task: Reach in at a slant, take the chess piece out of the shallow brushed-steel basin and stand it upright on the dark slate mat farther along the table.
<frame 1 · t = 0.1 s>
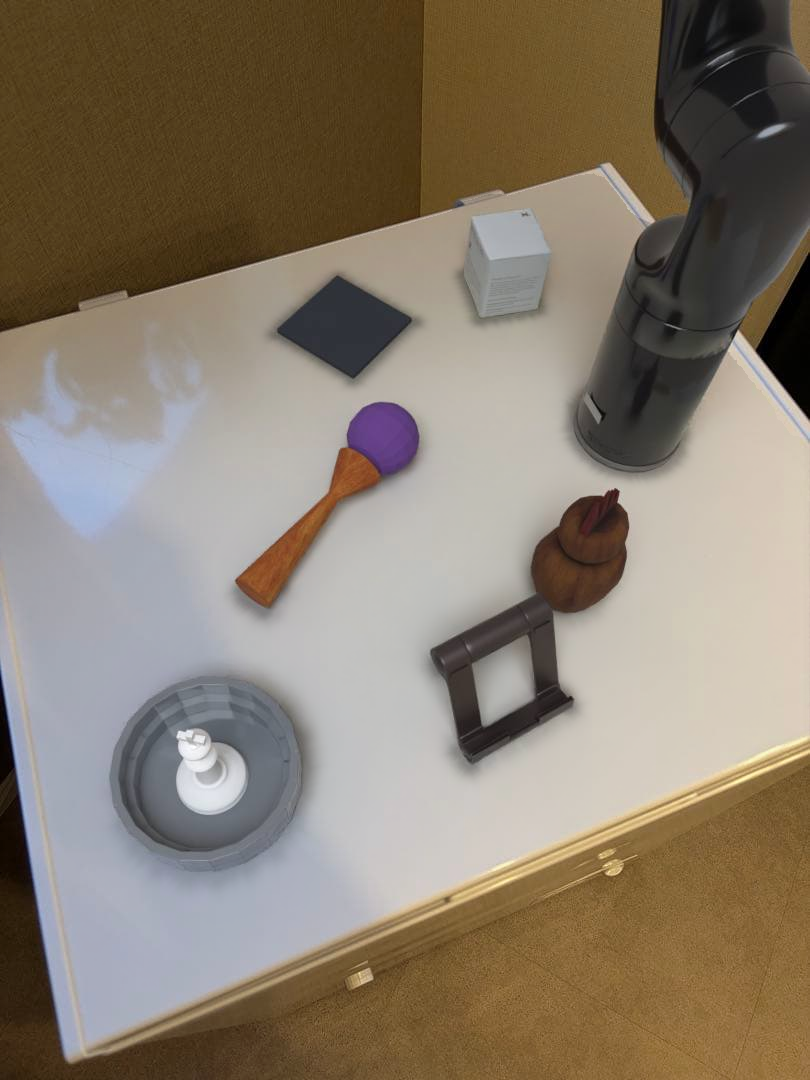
mat: (345, 327, 84), on the table
product box: (499, 294, 87), on the table
tablet stand: (490, 695, 66), on the table
kendama: (332, 516, 73), on the table
chess piece: (213, 779, 62), resting on basin
basin: (213, 780, 62), on the table
brown gourd: (566, 590, 71), on the table
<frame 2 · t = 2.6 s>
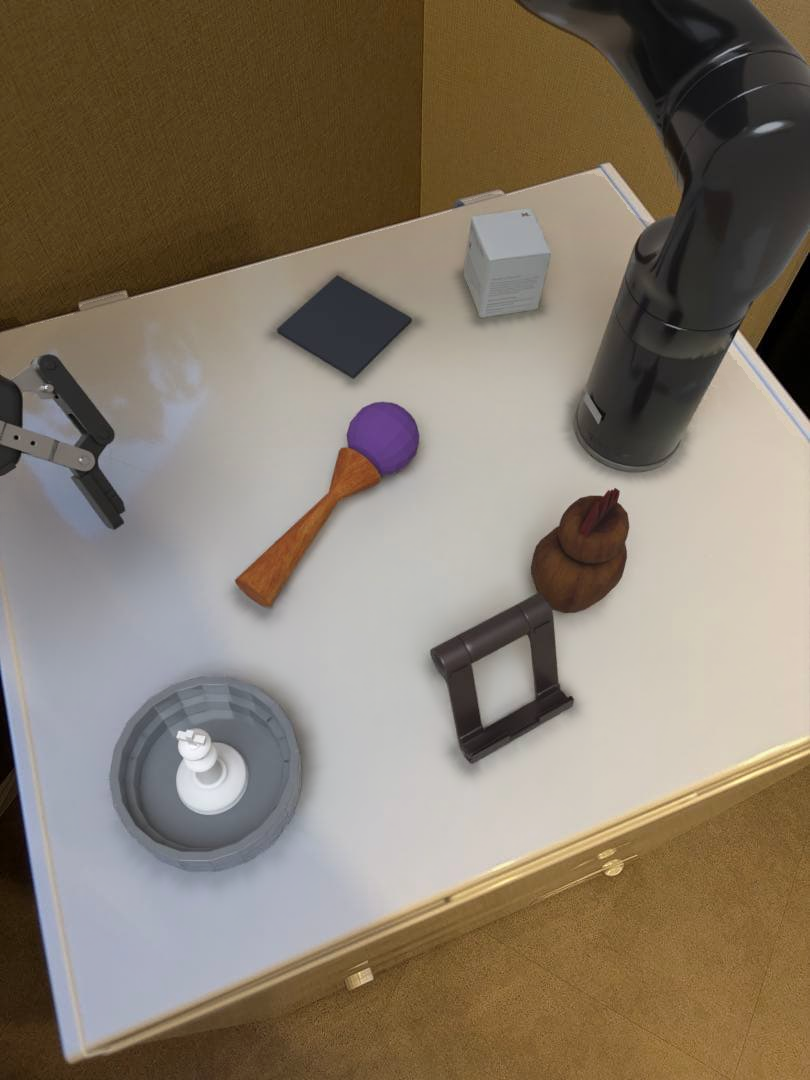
hand: (55, 568, 52), 16 cm above the table, tool tilted 45°, fingers open, 8 cm apart
nothing on the table moved.
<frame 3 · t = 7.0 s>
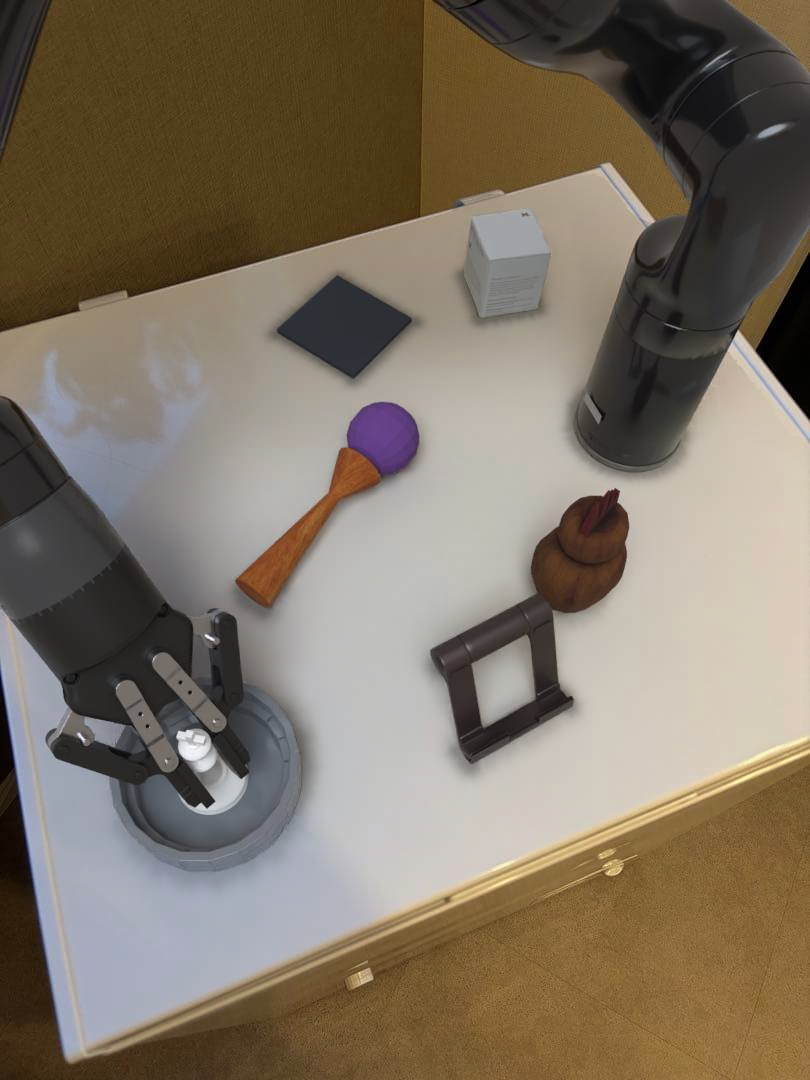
hand: (224, 785, 57), 4 cm above the table, tool tilted 45°, fingers closed on chess piece
chess piece: (213, 779, 62), resting on basin, touching gripper
everything else where it was.
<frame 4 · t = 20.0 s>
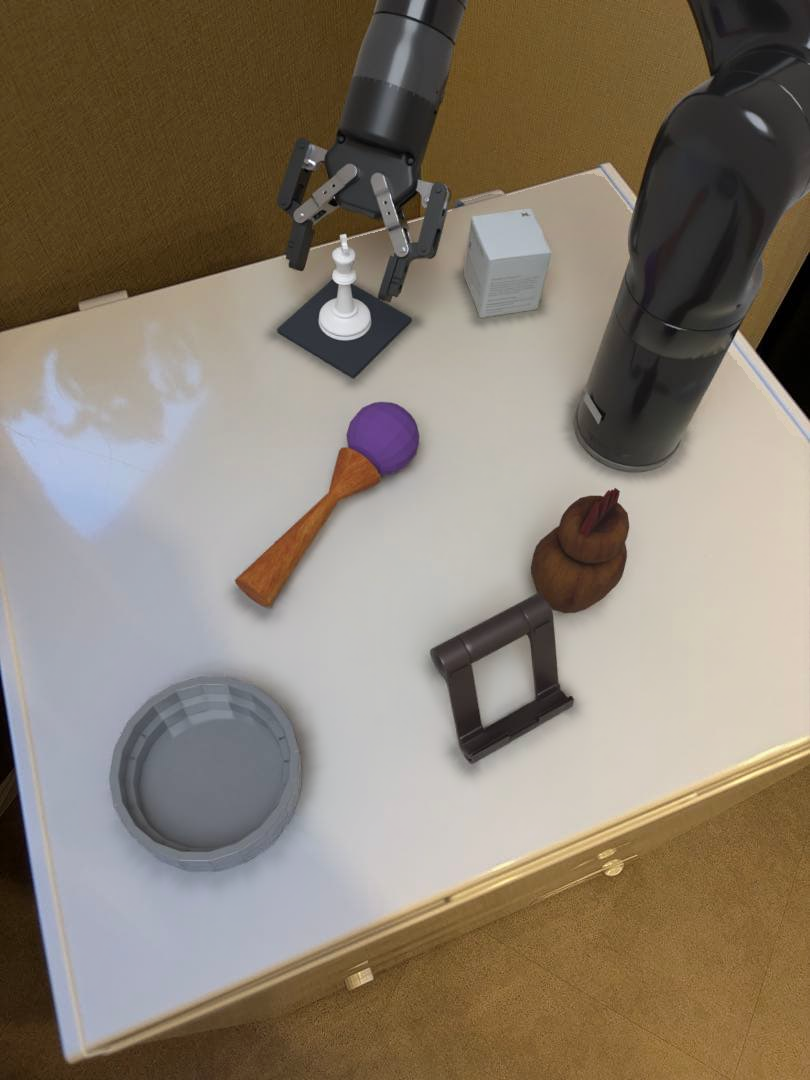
hand: (339, 285, 78), 6 cm above the table, tool tilted 45°, fingers open, 8 cm apart
chess piece: (345, 322, 83), resting on mat
everything else where it was.
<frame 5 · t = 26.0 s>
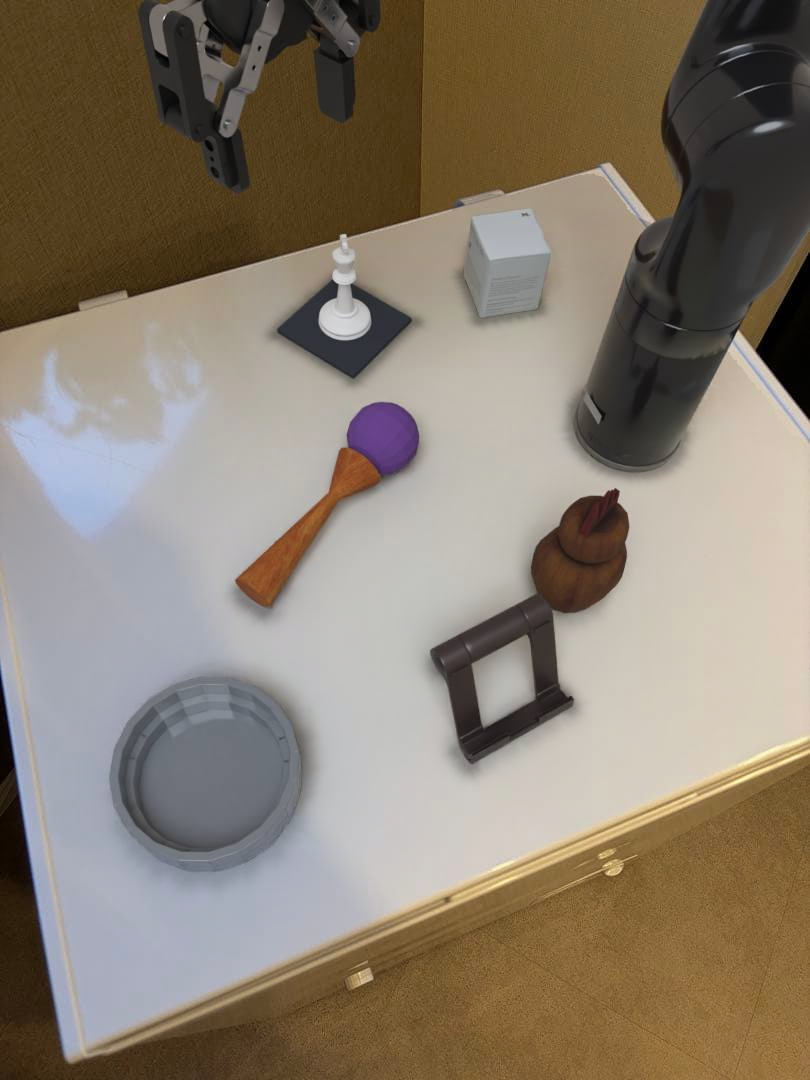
hand: (286, 149, 51), 29 cm above the table, tool pointing down, fingers open, 8 cm apart
nothing on the table moved.
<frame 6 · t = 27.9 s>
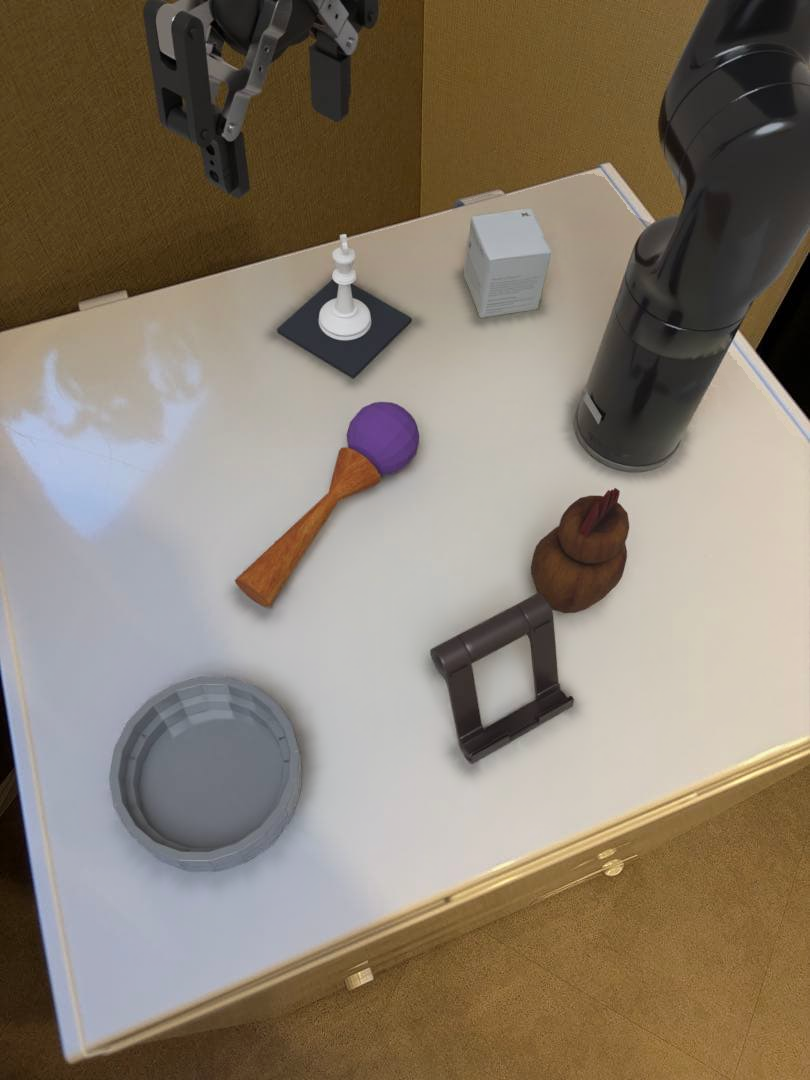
hand: (282, 150, 50), 30 cm above the table, tool pointing down, fingers open, 8 cm apart
nothing on the table moved.
at the end: chess piece inside the target area on the mat (0.3 cm from its centre), point 0.3 cm above the mat's base; chess piece tilted 0°; chess piece touching mat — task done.
